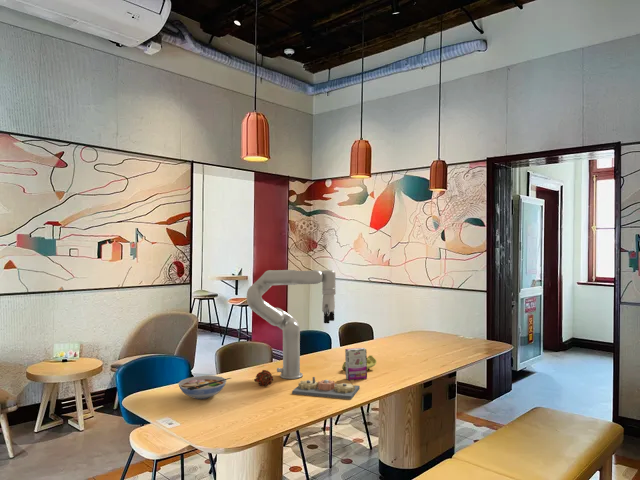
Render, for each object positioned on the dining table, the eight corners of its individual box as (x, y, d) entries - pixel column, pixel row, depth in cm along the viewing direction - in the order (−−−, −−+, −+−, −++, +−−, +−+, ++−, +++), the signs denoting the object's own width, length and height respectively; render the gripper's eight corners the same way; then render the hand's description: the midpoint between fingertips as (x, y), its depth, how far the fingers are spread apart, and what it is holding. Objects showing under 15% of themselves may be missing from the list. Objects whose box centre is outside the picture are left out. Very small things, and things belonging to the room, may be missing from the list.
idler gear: (316, 389, 230) (316, 383, 230) (320, 385, 236) (320, 379, 236) (332, 390, 227) (332, 384, 227) (336, 387, 234) (336, 381, 234)
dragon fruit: (270, 391, 238) (257, 389, 246) (280, 378, 243) (266, 377, 252) (261, 379, 235) (248, 378, 244) (271, 367, 240) (258, 366, 249)
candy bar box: (364, 376, 258) (363, 347, 259) (367, 379, 254) (367, 349, 254) (345, 378, 255) (344, 348, 256) (348, 380, 251) (347, 350, 251)
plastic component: (352, 370, 263) (343, 360, 271) (350, 380, 266) (341, 370, 274) (379, 363, 274) (369, 353, 282) (377, 373, 277) (367, 363, 284)
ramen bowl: (209, 386, 240) (209, 371, 241) (237, 395, 226) (237, 378, 226) (166, 398, 221) (166, 381, 221) (195, 408, 207) (195, 390, 207)
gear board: (292, 393, 228) (292, 380, 228) (304, 384, 245) (304, 371, 245) (351, 399, 218) (351, 385, 219) (359, 388, 236) (359, 375, 236)
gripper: (327, 290, 272) (327, 319, 272) (318, 293, 256) (318, 323, 255) (339, 290, 270) (339, 320, 269) (330, 293, 253) (331, 324, 253)
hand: (329, 321), depth 262 cm, fingers open, 9 cm apart
